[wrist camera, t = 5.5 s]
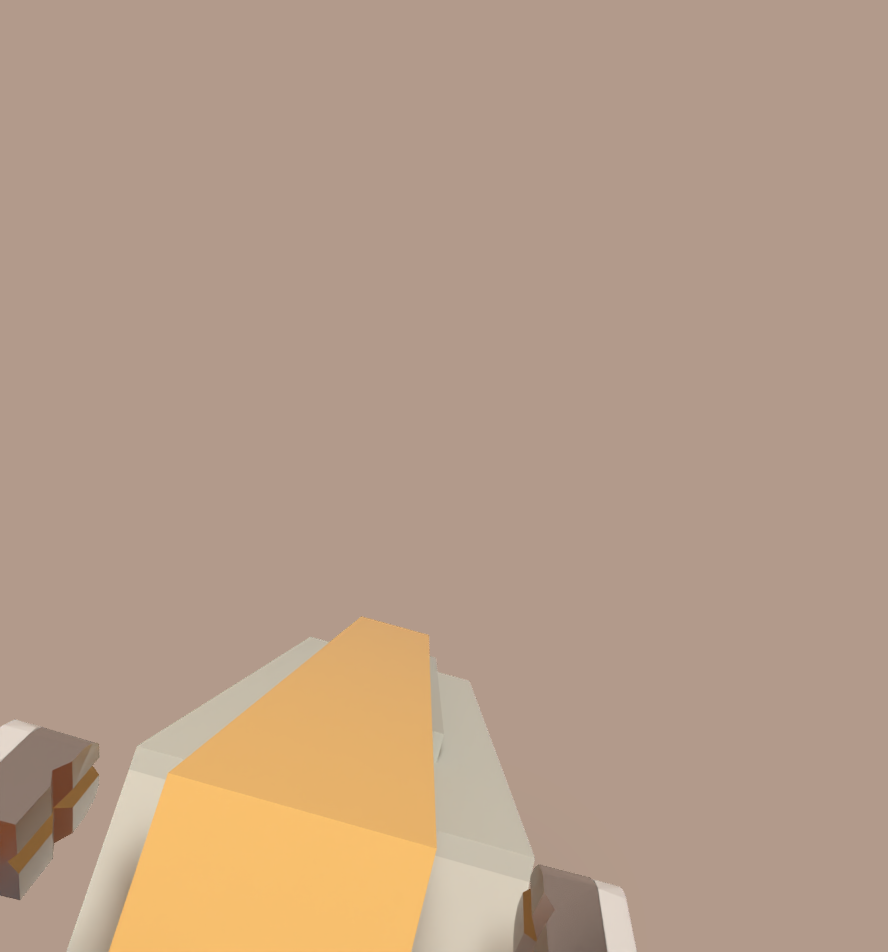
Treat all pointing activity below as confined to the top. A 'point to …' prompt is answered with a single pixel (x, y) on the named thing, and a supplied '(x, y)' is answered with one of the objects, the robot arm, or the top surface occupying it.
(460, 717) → the slotted cream upright block
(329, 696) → the long orange square stick
